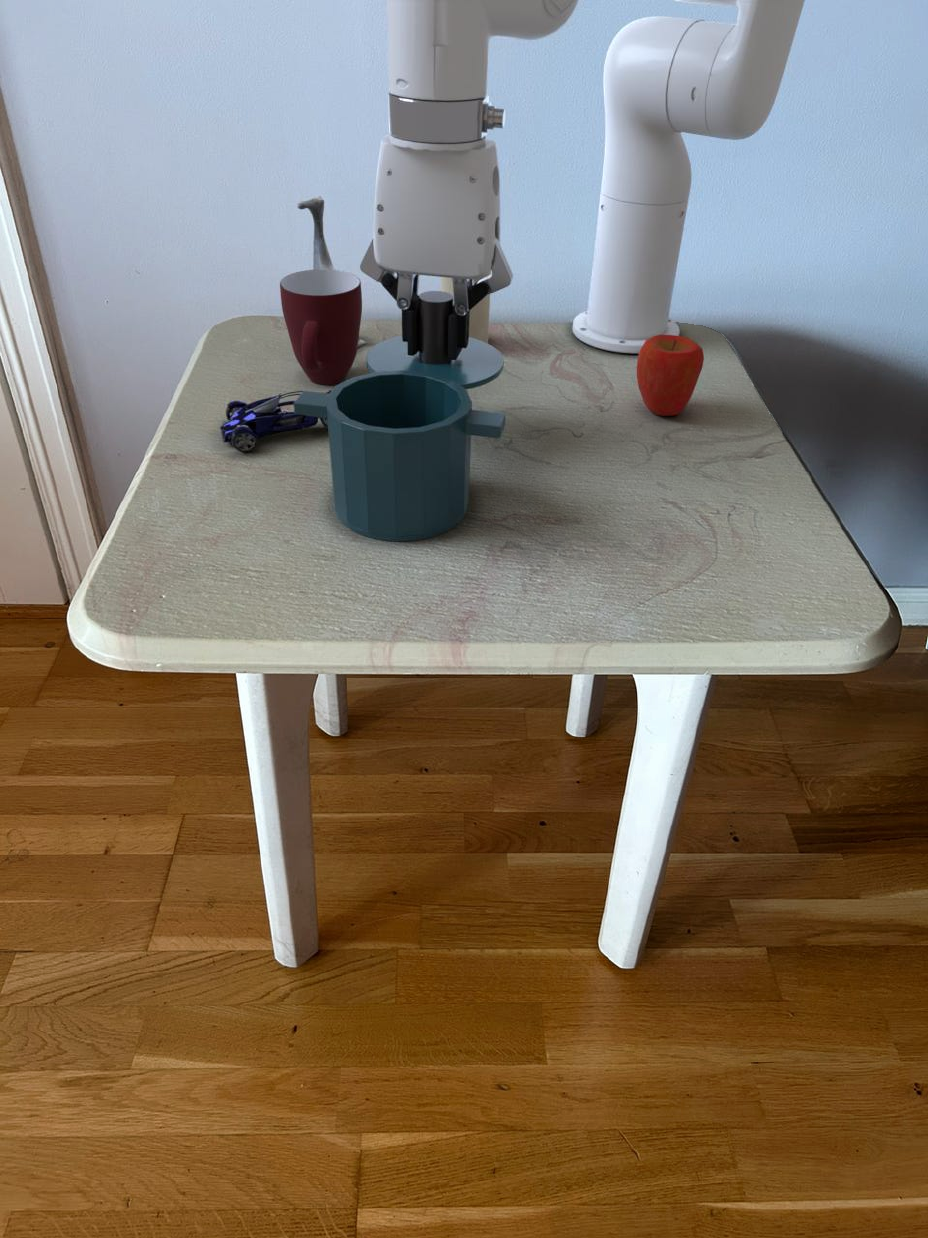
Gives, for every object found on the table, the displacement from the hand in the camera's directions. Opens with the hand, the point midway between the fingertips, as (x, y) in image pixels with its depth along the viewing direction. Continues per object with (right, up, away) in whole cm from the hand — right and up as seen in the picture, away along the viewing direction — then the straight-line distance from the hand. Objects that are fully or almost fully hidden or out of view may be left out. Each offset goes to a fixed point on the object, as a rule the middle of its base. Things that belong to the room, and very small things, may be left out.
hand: (435, 350), depth 80 cm
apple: (+23, -3, +11) cm, 25 cm away
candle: (+3, +8, +23) cm, 25 cm away
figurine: (-12, +7, +22) cm, 26 cm away
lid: (0, -1, +1) cm, 1 cm away
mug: (-12, +1, +14) cm, 19 cm away
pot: (-3, -14, -5) cm, 15 cm away
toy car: (-14, -7, +5) cm, 17 cm away
